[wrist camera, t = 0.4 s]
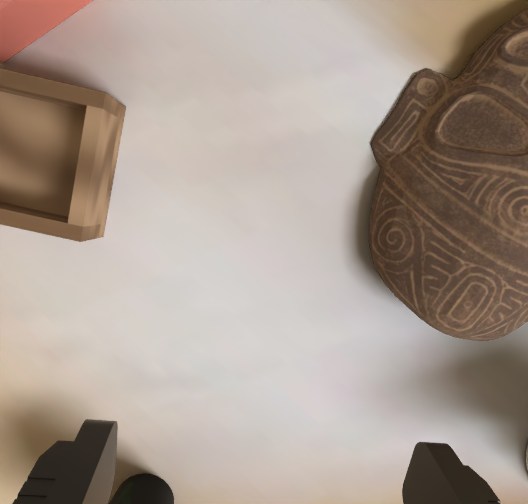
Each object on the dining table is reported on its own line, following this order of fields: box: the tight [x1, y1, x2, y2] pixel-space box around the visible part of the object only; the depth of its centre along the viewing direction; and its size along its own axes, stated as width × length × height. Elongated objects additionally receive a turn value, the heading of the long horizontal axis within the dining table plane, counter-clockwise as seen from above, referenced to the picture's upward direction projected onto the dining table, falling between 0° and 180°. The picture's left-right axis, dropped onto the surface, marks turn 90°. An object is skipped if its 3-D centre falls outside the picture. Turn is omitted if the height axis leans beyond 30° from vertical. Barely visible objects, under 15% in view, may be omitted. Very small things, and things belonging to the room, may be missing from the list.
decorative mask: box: [369, 10, 528, 341], centre depth 33 cm, size 23×7×30 cm
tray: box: [0, 68, 126, 242], centre depth 33 cm, size 11×11×4 cm
